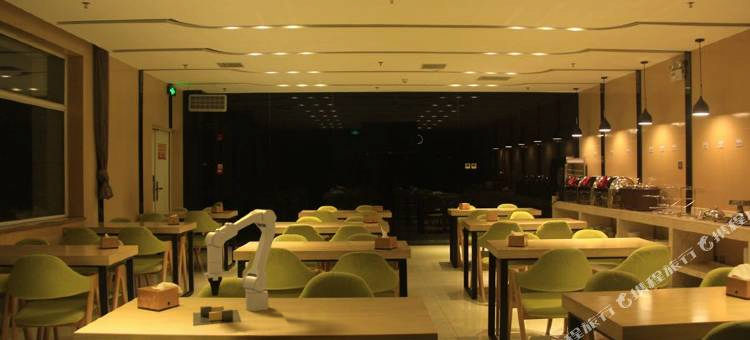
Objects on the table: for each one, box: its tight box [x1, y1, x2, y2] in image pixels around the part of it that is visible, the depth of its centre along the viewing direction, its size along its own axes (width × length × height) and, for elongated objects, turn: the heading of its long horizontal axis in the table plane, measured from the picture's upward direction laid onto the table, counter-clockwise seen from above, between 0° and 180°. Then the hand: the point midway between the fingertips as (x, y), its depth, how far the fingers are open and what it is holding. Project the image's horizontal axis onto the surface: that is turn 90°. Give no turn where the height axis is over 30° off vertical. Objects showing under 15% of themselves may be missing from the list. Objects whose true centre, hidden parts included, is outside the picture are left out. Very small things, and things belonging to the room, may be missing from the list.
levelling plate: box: [192, 309, 242, 327], centre depth 234 cm, size 18×22×2 cm
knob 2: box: [209, 308, 234, 321], centre depth 230 cm, size 9×4×4 cm, turn 107°
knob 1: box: [199, 305, 225, 316], centre depth 239 cm, size 9×4×4 cm, turn 107°
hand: (215, 295), depth 235 cm, fingers closed
